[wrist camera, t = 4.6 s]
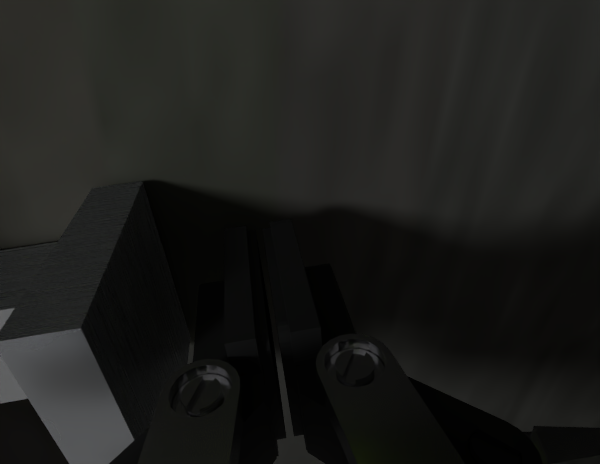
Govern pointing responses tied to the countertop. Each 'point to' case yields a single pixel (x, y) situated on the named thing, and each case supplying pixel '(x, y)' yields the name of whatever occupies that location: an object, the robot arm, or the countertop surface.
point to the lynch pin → (92, 325)
